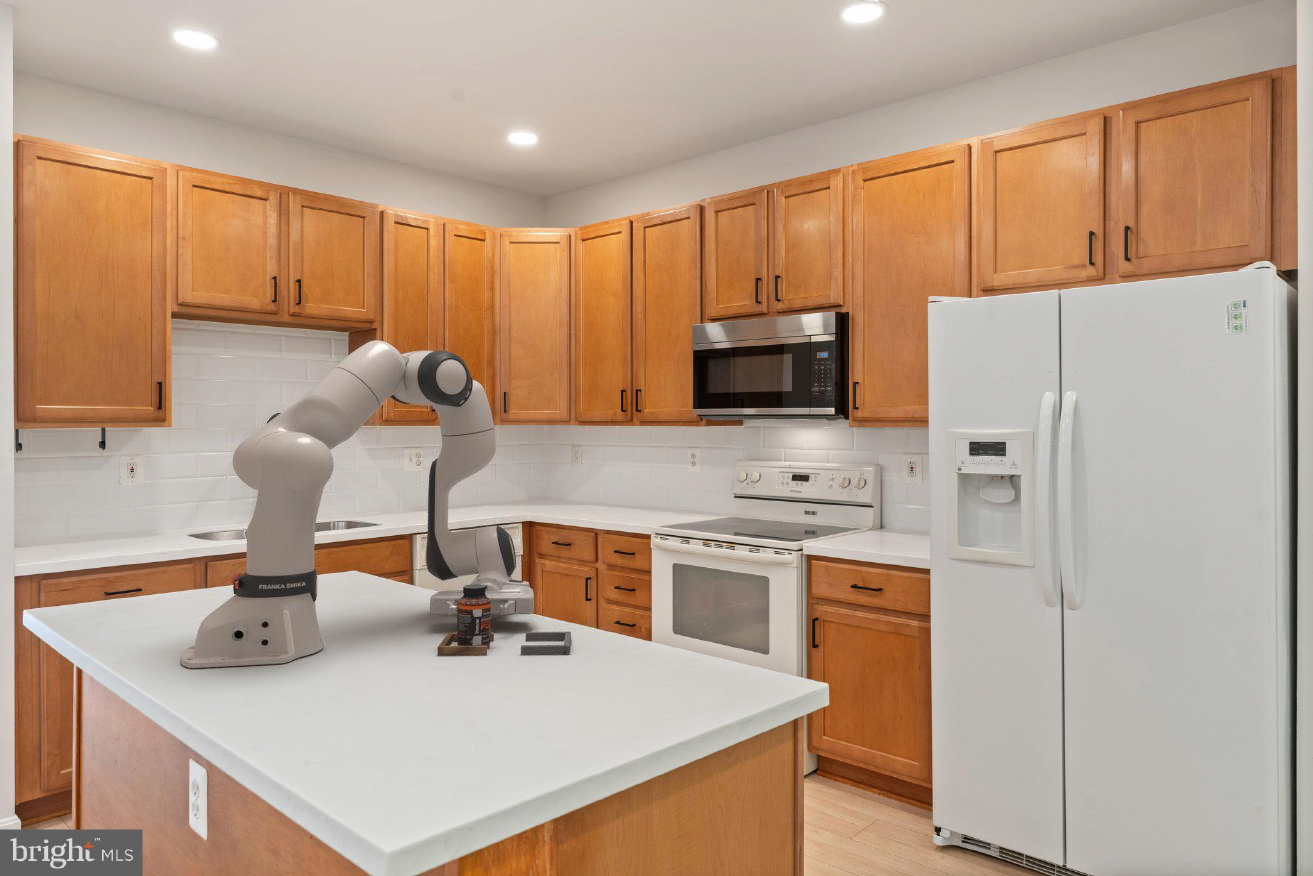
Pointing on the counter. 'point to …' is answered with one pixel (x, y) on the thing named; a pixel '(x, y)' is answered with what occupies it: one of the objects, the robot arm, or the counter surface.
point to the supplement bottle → (473, 617)
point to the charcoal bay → (547, 648)
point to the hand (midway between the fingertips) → (478, 610)
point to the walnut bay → (460, 647)
